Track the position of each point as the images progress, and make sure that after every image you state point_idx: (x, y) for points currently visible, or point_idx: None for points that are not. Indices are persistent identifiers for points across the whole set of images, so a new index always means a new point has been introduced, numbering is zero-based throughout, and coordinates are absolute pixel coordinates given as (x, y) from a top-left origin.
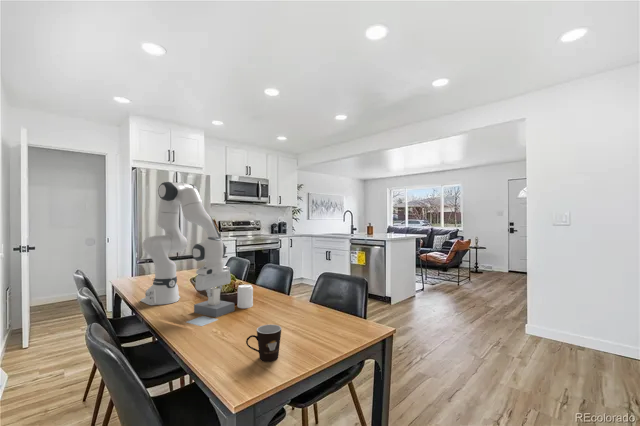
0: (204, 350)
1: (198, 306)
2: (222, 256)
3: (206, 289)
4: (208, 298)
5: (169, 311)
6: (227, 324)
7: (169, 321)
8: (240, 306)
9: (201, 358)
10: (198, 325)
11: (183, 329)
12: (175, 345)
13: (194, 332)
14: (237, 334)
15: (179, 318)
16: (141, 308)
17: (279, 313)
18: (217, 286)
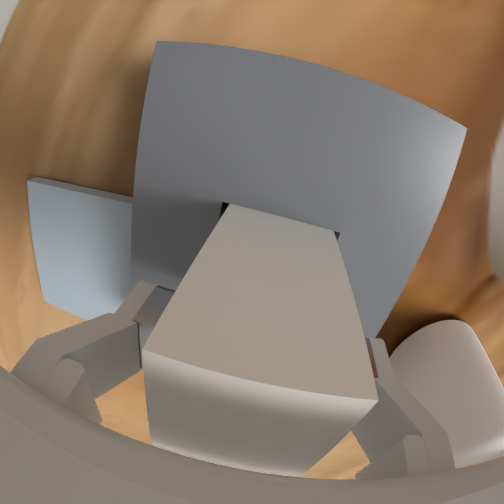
0: (12, 361)
1: (146, 123)
2: None
3: (33, 376)
4: (209, 239)
5: None
6: (139, 374)
7: (40, 45)
8: (393, 368)
9: (3, 365)
10: (40, 282)
11: (9, 224)
12: None
13: (22, 289)
14: (101, 410)
15: (90, 42)
16: None
17: (334, 462)
18: (406, 450)
